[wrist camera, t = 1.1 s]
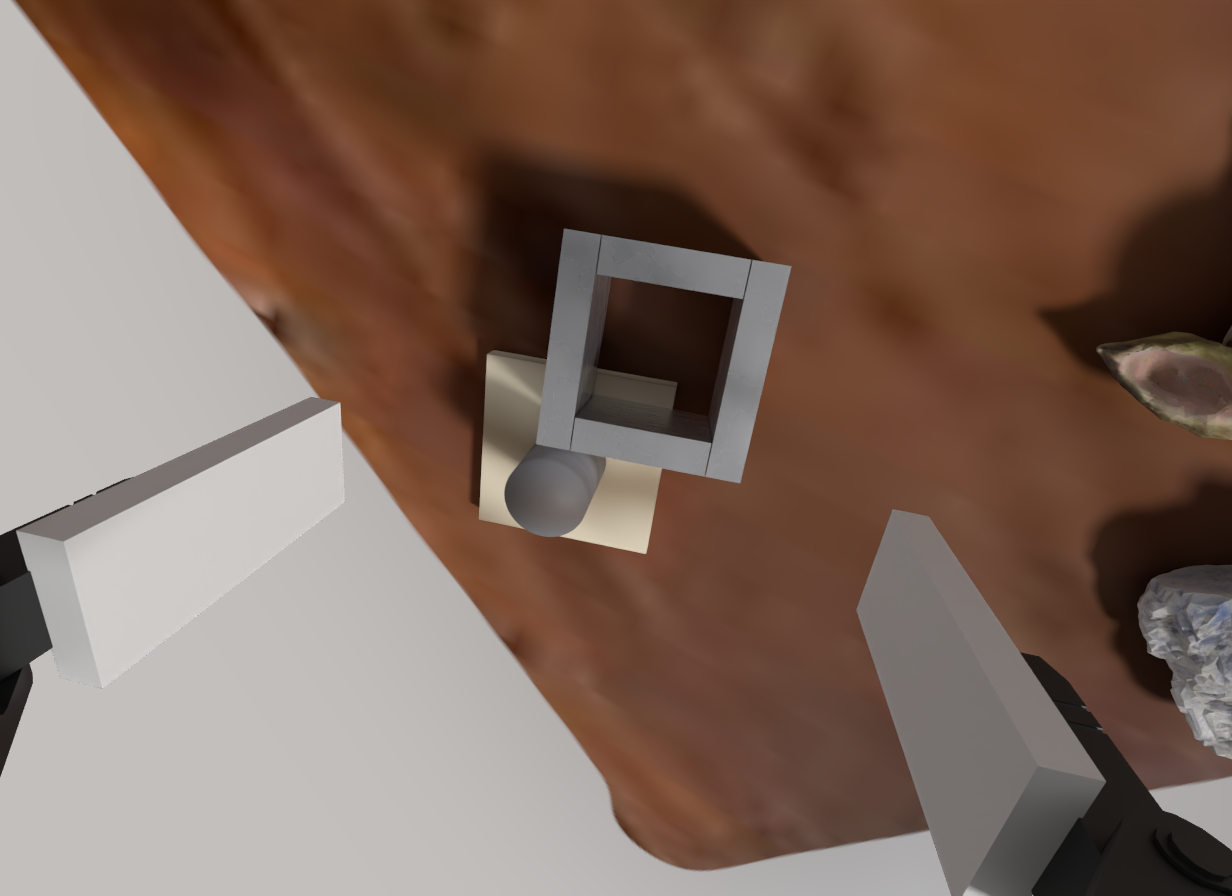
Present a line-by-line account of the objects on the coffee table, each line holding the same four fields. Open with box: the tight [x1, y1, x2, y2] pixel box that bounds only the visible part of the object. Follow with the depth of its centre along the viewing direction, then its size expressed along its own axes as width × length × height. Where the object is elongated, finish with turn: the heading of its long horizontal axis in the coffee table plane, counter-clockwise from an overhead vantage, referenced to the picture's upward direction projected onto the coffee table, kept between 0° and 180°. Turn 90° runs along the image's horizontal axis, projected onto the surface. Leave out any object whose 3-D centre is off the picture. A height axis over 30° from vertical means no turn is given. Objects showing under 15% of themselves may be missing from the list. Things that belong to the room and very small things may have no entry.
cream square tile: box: [479, 350, 678, 554], centre depth 31 cm, size 10×10×6 cm
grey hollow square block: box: [536, 229, 791, 483], centre depth 27 cm, size 9×9×6 cm
